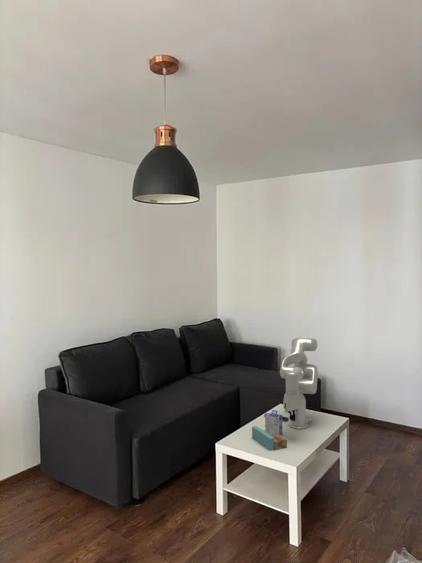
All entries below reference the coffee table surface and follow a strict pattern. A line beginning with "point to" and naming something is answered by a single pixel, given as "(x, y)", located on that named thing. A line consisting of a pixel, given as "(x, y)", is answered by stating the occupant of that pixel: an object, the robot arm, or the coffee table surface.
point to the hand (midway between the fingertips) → (292, 420)
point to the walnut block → (279, 442)
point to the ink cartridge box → (273, 423)
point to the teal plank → (263, 437)
